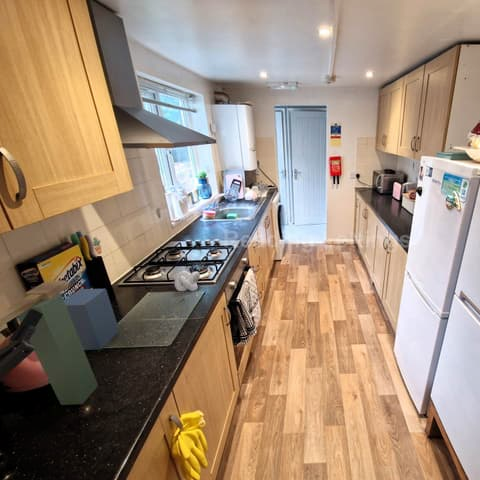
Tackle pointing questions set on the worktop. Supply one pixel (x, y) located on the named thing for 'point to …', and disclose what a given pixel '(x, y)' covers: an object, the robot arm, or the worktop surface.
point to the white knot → (186, 281)
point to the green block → (61, 352)
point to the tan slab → (33, 299)
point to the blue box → (92, 317)
